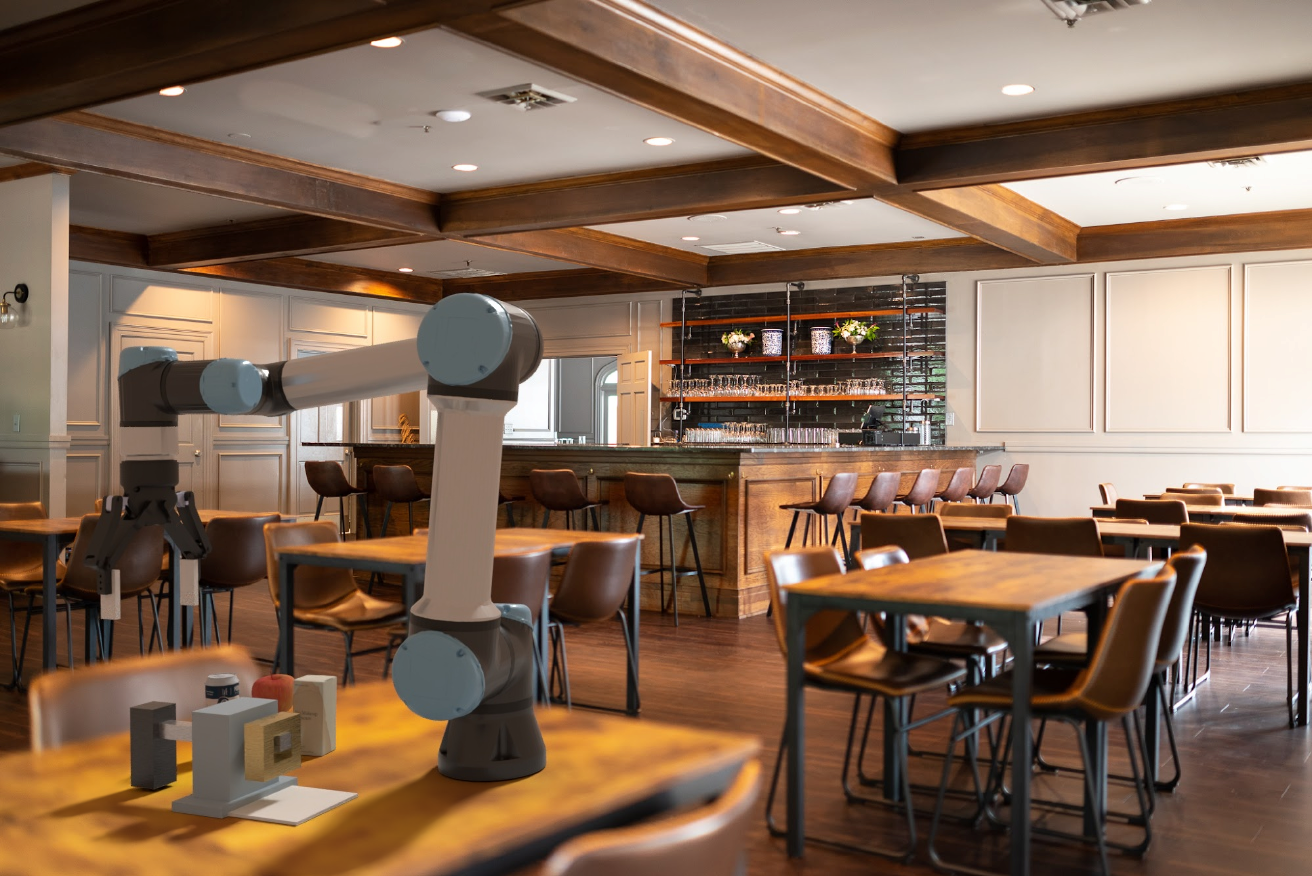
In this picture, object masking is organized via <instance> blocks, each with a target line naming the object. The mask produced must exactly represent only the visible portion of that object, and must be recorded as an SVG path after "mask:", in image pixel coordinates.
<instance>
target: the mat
mask: <svg viewBox="0 0 1312 876" xmlns="http://www.w3.org/2000/svg"><path fill="white" fill-rule="evenodd" d="M358 797H359V793H357V792H348V791H341V790H334V789H333V790H332V789H325V788H318V787H317V788H316V787H309V786H300V785H298V786H294V785H292V786H290V787H287V788H285V789H283V790H280V791H278V792H276V793H273V794H271V795H269V796H266V797H264V798H261V799H259V800H257V801H254V802H252V803H250V804H247V805H245V806H243V807H240V808H238V809H235V810H233V811H231V812H228V816H227V817H233V818H240V819H246V820H247V819H248V820H255V821H262V822H270V823H276V824H283V825H289V826H299V825H301V824H303V823H305V822H307V821H309V820H311V819H314V818H316V817H318V816H320V815H322V814H324V813H327V812H328V811H330V810H331V811H332V810H333V809H335V808H337V807H339V806H341V805H343V804H345V803H347V802H349V801H352V800H353V799H356V798H358Z"/></svg>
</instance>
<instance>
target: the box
mask: <svg viewBox="0 0 1312 876" xmlns="http://www.w3.org/2000/svg"><path fill="white" fill-rule="evenodd" d="M294 679H295V680H293V706H292V713H301V756H314V757H323V756H326V755H327V754H329V753H331V752H333V751H335V750H336V749H337V685H338V684H337V683H338V681H337V680H338V677H337V676H335V675H324V674H322V675H320V674H317V675H316V674H307V675H304V676H300V677H298V678H294Z"/></svg>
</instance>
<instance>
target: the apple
mask: <svg viewBox="0 0 1312 876" xmlns="http://www.w3.org/2000/svg"><path fill="white" fill-rule="evenodd" d="M269 673H270V674H269V675H265V676H263V677H260V678H258V679H257V680H255V681H254V682H253V684H252V686H251V694H250V695H251V698H262V699H273V700H278V713H279V712H289V711H290V710H291V709H293V680H295V679H296V678H294V677H293V676H291V675H288V674H282V673H281V674H272V673H273V670H270V671H269Z"/></svg>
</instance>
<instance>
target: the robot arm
mask: <svg viewBox="0 0 1312 876" xmlns="http://www.w3.org/2000/svg"><path fill="white" fill-rule="evenodd" d="M544 341H545V340H544V335H543V332H542V329H541V327H540V325H539V324H538V322H537V320H536V319H535V317H534V316H533V315H531V314H530V313H529V312H528V310H525V309H523V308H522V307H519V306H518V305H515V304H512V303H509V302H505V301H501V300H499V299H497V298H494V297H493V296H490V295H487V294H480V293H477V292H475V293H470V292H469V293H467V292H463V293H455V294H452V295H448V296H446V297H444V298H442V299H440V300H439V301H438V302H436V303H435V304H434V305H433V306H432V307H430V309H428V310H427V312H426V313H425V315H424V316H423V318H422V320H421V321H420V324H419V327H418V331H417V334H416V337H413V338H406V339H400V340H395V341H390V342H384V343H377V344H373V345H367V346H361V347H360V346H359V347H356V348H349V349H343V350H337V351H333V352H327V353H322V354H316V355H309V356H303V357H298V358H293V359H289V360H281V361H275V362H268V363H252V362H251V361H249V360H248V359H243V358H231V357H230V358H229V357H221V358H220V357H219V358H217V359H216V358H214V359H213V358H211V359H196V360H195V359H193V360H192V359H191V360H182V359H181V360H179V358H178V353H177V349H175V348H173V347H169V346H159V345H158V346H156V345H155V346H153V345H148V346H143V345H142V346H141V345H136V346H127V347H124V348H123V349H122V350H120V352H119V359H118V361H119V362H118V363H119V364H118V374H117V384H118V385H117V386H118V402H119V420H120V421H119V429H118V430H119V432H118V433H119V455H120V456H121V457H124V460H121V461H120V463H119V485H120V486H121V487H122V489H123V494H122V495H120V494H119V495H117V494H115V495H114V494H113V495H112V494H111V495H110V494H109V495H104V496H103V497H102V501H101V503H102V504H101V512H100V515H99V518H98V520H97V522H96V526H95V527H94V530H93V533H92V535H91V537H90V540H89V544H88V546H87V548H86V551H85V554H84V556H83V557H82V560H81V561H82V566H84V567H89V568H90V569H91V570H95V571H96V592H97V595H100V619H101V620H102V619H103V620H113V621H115V620H120V619H121V570H120V569H114V568H115V567H116V565H117V564H118V563H119V561H120V560H121V558H122V556H123V555H124V553H125V551H126V549H127V548H128V547H129V545H130V543H131V542H132V540H133V539H134V537H135V535H136V534H137V532H139V531H140V530H142V529H143V527H152V526H160V527H162V528H163V529H164V530H165V532H166V533H167V535H168V536H169V537H170V539H171V540H172V542H173V543H174V545H176V547H177V548H178V550H179V551H180V553H181V554H182V555H183V556H184V558H183V559H179V599H180V600H179V601H180V602H179V604H180V606H199V582H200V580H201V577H202V575H201V569H202V568H201V567H202V566H201V560H204V559H206V558H207V557H208V554H210V553H212V551H213V546H212V544H211V542H210V539H209V537H208V533H207V531H206V529H205V527H204V524H203V522H202V519H201V517H200V514H199V512H198V509H197V507H196V501H195V493H194V492H193V491H192V490H177V491H176V486H178V485H179V483H180V471H179V470H180V469H179V467H180V466H179V464H180V463H179V461H178V460H177V459H175V456H178V455H179V450H180V449H179V416H185V415H220V416H221V415H222V416H261V417H263V416H264V417H268V418H277V417H283V416H288V415H290V414H292V413H294V412H296V411H302V410H308V409H313V408H314V409H315V408H320V407H321V408H322V407H327V406H334V405H338V404H346V403H351V402H356V401H357V402H358V401H364V400H370V399H376V398H377V399H378V398H382V397H388V396H389V397H390V396H395V395H402V394H408V393H415V392H419V391H426V398H427V400H429V401H430V403H431V404H432V406H433V407H435V409H436V411H437V417H436V418H437V419H436V429H435V430H436V431H435V441H434V442H435V443H434V454H433V455H434V456H433V457H434V458H433V468H432V482H431V493H430V494H431V495H430V506H429V508H430V509H429V517H428V519H429V520H428V532H427V533H428V534H427V535H428V536H427V547H426V556H425V558H426V559H425V571H424V584H423V595H422V596H421V598H420V599H418V600H417V601H416V602H415V603H414V604H413V605H412V606H411V607H410V609H409V611H410V612H409V624H408V635H407V638H406V639H405V640H404V641H403V642H401V644H400V645H399V647H398V648H397V650H396V652H395V654H394V655H393V658H392V661H391V662H392V664H391V680H392V683H393V684H392V685H393V687H394V690H395V692H396V695H397V696H398V698H399V699H400V701H402V702H403V703H404V704H405V706H406V707H407V709H409V710H410V712H412V713H414V714H415V715H417V716H419V717H421V718H422V719H423V718H424V719H426V720H430V721H433V722H434V721H435V722H437V721H438V722H445V721H446V724H445V725H446V726H445V729H444V733H443V736H442V738H441V743H440V745H439V750H438V752H437V770H438V772H439V774H441V775H444V776H445V777H448V778H452V779H456V780H463V781H471V782H472V781H473V782H474V781H476V782H486V781H487V782H489V781H491V782H492V781H503V780H511V779H518V778H521V777H525V776H529V775H532V774H534V773H537V772H539V771H541V770H543V769H544V768H545V767H546V766H547V747H546V744H545V741H544V737H543V735H542V732H541V728H540V726H539V723H538V720H537V717H536V714H535V711H534V673H533V672H534V661H533V659H534V658H533V657H534V656H533V655H534V654H533V653H534V651H533V650H534V648H533V647H534V645H533V642H534V639H533V633H534V625H533V619H532V618H533V617H532V610H531V609H530V608H529V607H528V606H527V605H526V604H523V603H522V604H521V603H494V602H493V601H492V597H491V595H492V583H493V582H492V581H493V571H494V559H495V558H494V556H495V545H496V533H497V532H496V531H497V518H498V507H499V506H498V505H499V496H500V493H499V492H500V483H501V482H500V480H501V469H502V468H501V466H502V457H503V439H504V429H505V427H504V426H505V419H506V418H505V417H506V416H507V414H508V413H509V412H510V411H511V410H512V409H514V408H515V407H516V406H517V405H518V403H519V392H520V391H519V390H520V385H521V384H523V383H526V381H527V380H529V379H531V378H532V377H533V376H534V374H535V373H536V372H537V370H538V369H539V366H540V365H541V363H542V361H543V359H544V358H543V357H544V352H545V342H544ZM175 507H176V509H175ZM123 511H124V512H123ZM122 513H123V514H122Z"/></svg>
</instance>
